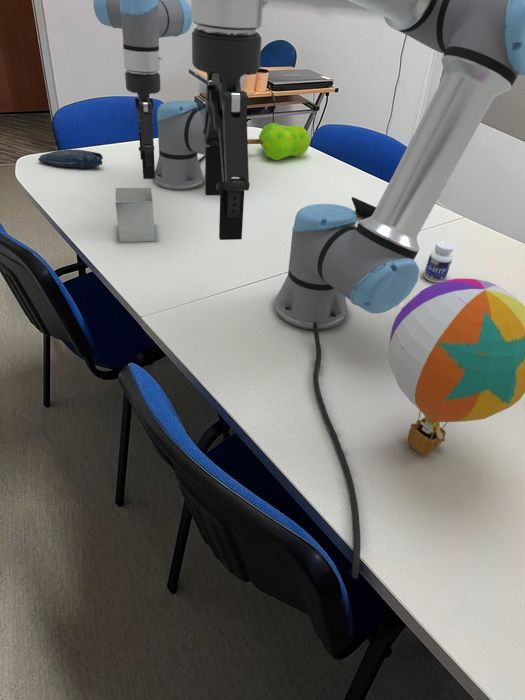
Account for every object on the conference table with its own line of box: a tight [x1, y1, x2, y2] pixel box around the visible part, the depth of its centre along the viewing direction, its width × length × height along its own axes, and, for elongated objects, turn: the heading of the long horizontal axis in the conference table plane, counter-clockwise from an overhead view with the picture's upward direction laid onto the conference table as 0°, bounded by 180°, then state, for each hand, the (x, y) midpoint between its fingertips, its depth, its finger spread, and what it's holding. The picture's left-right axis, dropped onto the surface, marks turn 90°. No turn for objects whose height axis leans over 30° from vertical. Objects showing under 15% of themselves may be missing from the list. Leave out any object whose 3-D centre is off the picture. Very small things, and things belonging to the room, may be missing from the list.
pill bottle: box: [423, 240, 454, 284], centre depth 125 cm, size 5×5×9 cm
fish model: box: [37, 149, 104, 170], centre depth 166 cm, size 7×21×5 cm, turn 84°
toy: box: [387, 278, 525, 458], centre depth 75 cm, size 20×20×30 cm
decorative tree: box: [247, 122, 311, 161], centre depth 186 cm, size 18×10×30 cm
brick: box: [115, 187, 156, 243], centre depth 131 cm, size 8×9×11 cm
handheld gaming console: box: [351, 196, 377, 218], centre depth 151 cm, size 12×7×10 cm
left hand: (147, 168), depth 126 cm, fingers open, 13 cm apart
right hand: (222, 215), depth 69 cm, fingers open, 13 cm apart
